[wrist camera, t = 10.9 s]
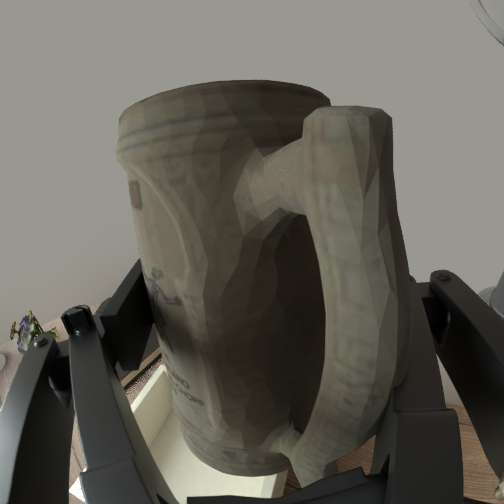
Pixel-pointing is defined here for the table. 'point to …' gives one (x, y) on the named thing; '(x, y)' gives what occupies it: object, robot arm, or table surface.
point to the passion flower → (29, 332)
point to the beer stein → (270, 269)
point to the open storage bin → (186, 452)
